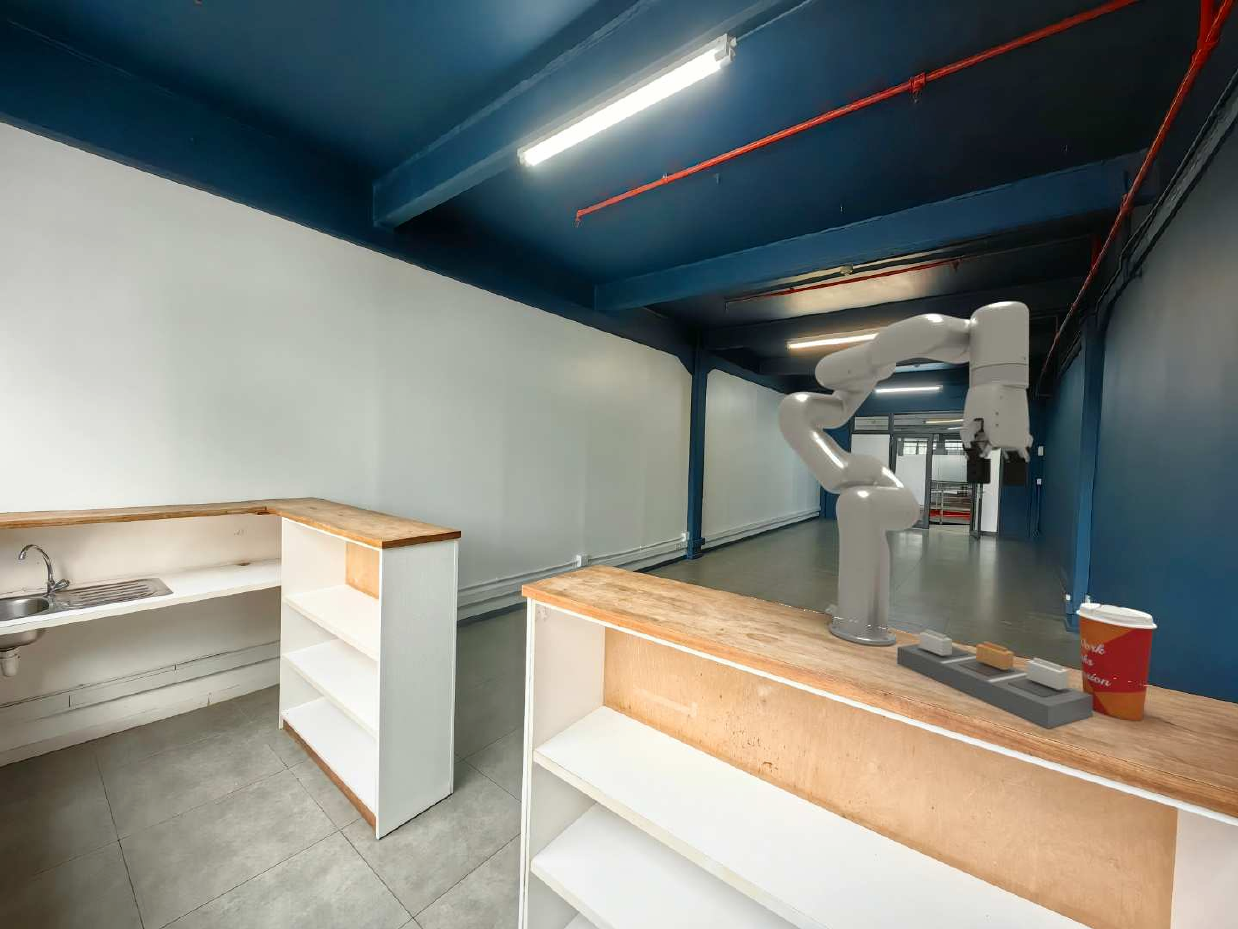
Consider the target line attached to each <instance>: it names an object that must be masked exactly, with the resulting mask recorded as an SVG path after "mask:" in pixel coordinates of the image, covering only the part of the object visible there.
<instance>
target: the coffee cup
mask: <svg viewBox="0 0 1238 929" xmlns="http://www.w3.org/2000/svg"><path fill="white" fill-rule="evenodd" d="M1075 613H1076V614H1077V615H1078V617H1079V618H1078V620H1079V622H1078V623H1079V639H1080V640H1079V643H1080V644H1079V645H1080V661H1081V662H1080V663H1081V680H1082V692H1085V693H1087V694H1090V695H1093V708H1092V711H1094V712H1097V711H1098V712H1097V713H1099V712H1100V713H1099V714H1102V715H1105V716H1108V717H1111V718H1115V719H1118V718H1122V719H1121V720H1123V719H1125V720H1124V721H1128V720H1129V721H1130V722H1131V721H1132V722H1140V721H1142V720H1143V717H1144V716H1143V715H1144V712H1145V711H1144V710H1145V705H1146V704H1145V703H1146V696H1147V695H1146V694H1147V687H1148V686H1143V685H1148V678H1149V668H1150V662H1151V661H1150V660H1151V653H1152V652H1151V650H1152V642H1153V633H1154V629H1157V627H1158V626H1157V624H1155V623H1154V619H1153V616H1152V615H1151V614H1149V613H1146V612H1144V611H1140V610H1138V609H1137V610H1136V609H1131V608H1127V607H1123V606H1122V607H1120V606H1119V607H1118V606H1116V605H1111V604H1110V605H1109V604H1101V603H1093V602H1083V603H1080V605H1079V609H1077V610H1076V611H1075ZM1094 674H1096V675H1094ZM1114 678H1116V679H1114ZM1128 681H1131V682H1128ZM1140 684H1141V685H1140ZM1129 721H1128V722H1129Z"/></svg>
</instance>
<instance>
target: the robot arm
mask: <svg viewBox="0 0 1238 929" xmlns="http://www.w3.org/2000/svg"><path fill="white" fill-rule="evenodd" d="M1029 325H1030V310H1029V308H1028V307H1027V304H1025V303H1023V302H1020V301H999V302H996V303H994V302H993V303H990V304H986V305H985V306H982V307H980V308H978V309H976V310H975V311H974V312H973V313H972V315H971V316H970V319H964V318H958V317H953V316H950V315H946V314H945V315H944V314H940V313H924V314H921V315H920V314H919V315H916V316H912V317H909V318H907V319H903V320H901V321H898V322H897V321H896V322H895V323H892V324H890V325H887V326H886V327H884V328H883V329H882V330H881V331H879V332H878V333H877V334H876V335H875V336H874V337H873V339H872V340H870V341H868V342H864V343H862V344H858V345H855V346H852V347H848V348H845V349H841V350H840V351H836V352H832V353H830V354H828V355H826V356H825V357H824V356H823V358H821V359H820V360H819V362H818V363H817V365H815V366H816V367H815V369H814V375H815V379H816V380H817V382H818V384H819V385H821V386H822V387H824V388H826V389H828V390H833V393H832V394H825V393H817V392H810V391H809V392H808V391H800V392H799V391H798V392H793V393H790V394H788V395H787V396H785V397H784V398H783V399H782V401H781V402H780V404H779V406H778V410H777V411H778V412H777V422H778V429H779V432H780V433H781V436H782V437H783V439H784V440H785V442H786V444H787V445H788V446H790V448H791V449H792V450H793V451H794V453H795V454H796V455H798V456H799V458H800V459H801V460H802V462H803V463H804V464H805V466H806V468H808V470H809V471H810V472H811V474H812V475H813V476H814V478H815V479H816V481H817V482H818V483H819V484H820V485H821V487H822V488H823V489H824V490H825V491H827V492H829V493H832V494H837V495H839V496H838V498H837V500H836V504H835V514H836V515H835V516H836V519H837V526H838V533H839V534H838V535H839V553H838V555H839V556H838V558H839V560H838V581H837V583H838V588H837V605H835V604H830V605H828V607H827V608H825V610H824V612H825V614H827V615H830V616H832V621H830V622H829V624H828V630H829V632H830V633H831V634H833V635H835V636H836V637H837V638H838V637H839V638H841V639H843V640H847V641H849V642H850V641H851V642H853V643H858V644H863V645H870V646H890V645H894V644H896V643H897V635H896V634H895V632H893V631H892V632H891V630H890V629H889V609H890V608H889V607H890V606H889V604H890V603H889V601H890V580H891V579H890V571H891V552H890V546H889V543H888V541H887V537H886V534H885V532H886V531H887V532H892V531H893V532H894V531H904V530H907V529H909V528H911V527H913V526H914V525H915V524H917V522H918V520H919V518H920V512H921V510H920V504H919V502H918V499H917V498H916V497H915V495H914V494H913V492H912V491H911V490H910V488H908V487H907V485H905V484H904V482H902V480H901V479H900V478H899V477H898V476H897V475H896V474H895V473H894V472H893V471H892V469H890V468H889V467H888V465H886V463H884V462H883V461H881V460H880V459H878V458H876V457H874V456H871V455H870V454H869V455H868V454H859V453H851V452H848V451H846V450H844V449H843V448H842V447H840V445H838V443H837V442H836V441H835V439H834V438H833V436H830V435H829V433H827V432H825V431H824V430H822V429H827V430H830V429H831V430H832V429H838V428H840V427H841V426H843V425H845V424H846V423H847V422H848V421H849V420H850V419H851V418H852V416H853V415H854V414H855V412H856V411H857V410H858V409H859V408H860V406H861V405H862V404H863V403H864V401H866V399H867V398H868V397H869V395H871V393H872V391H873V390H874V389H875V387H876V386H877V383H878V382H879V381H883V380H886V379H888V378H889V377H891V376H892V374H893V373H894V372H895V371H896V367H897V366H896V365H897V363H900V362H903V361H907V360H911V359H916V358H918V359H919V358H923V359H927V360H928V359H930V360H934V361H940V362H944V363H945V362H946V363H951V364H964V363H968V362H969V388H968V390H967V394H966V396H965V403H964V409H963V410H964V411H963V418H962V419H963V421H962V428H961V429H960V430H959V436H960V439H961V442H962V443H961V447H962V449H963V450H964V458H965V460H966V483H967V484H970V485H989V484H991V478H992V476H991V474H992V471H991V470H992V469H991V468H992V466H991V465H992V464H991V463H992V459H991V458H988V456H989V455H990V453H991V452H992V451H993V452H994V451H998V450H1000V449H1001V452H1002V454H1003V456H1004V458H1005V460H1006V461H1003V475H1002V476H1003V477H1002V478H1003V485H1004V486H1008V487H1027V486H1028V485H1029V484H1028V483H1029V480H1028V479H1029V478H1028V477H1029V473H1028V471H1029V462H1030V460H1031V458H1030V454H1031V452H1032V448H1031V447H1032V444H1033V441H1034V438H1033V436H1032V435H1031V434H1030V416H1029V415H1030V414H1029V405H1028V404H1029V402H1028V397H1027V390H1026V389H1028V388H1029V387H1030V386H1029V385H1030V384H1029V382H1030V381H1029V377H1030V376H1029V372H1030V371H1029V370H1030V368H1029V358H1030V357H1029V355H1030V351H1029V350H1030V347H1029V346H1030V345H1029V344H1030V339H1029V336H1030V326H1029ZM833 616H834V617H839V618H843V619H838V618H834V617H833ZM850 620H852V621H850ZM855 621H857V622H855ZM868 625H871V626H868ZM879 627H881V628H879ZM882 628H886V629H882ZM887 629H888V630H887ZM889 630H890V631H889Z"/></svg>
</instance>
